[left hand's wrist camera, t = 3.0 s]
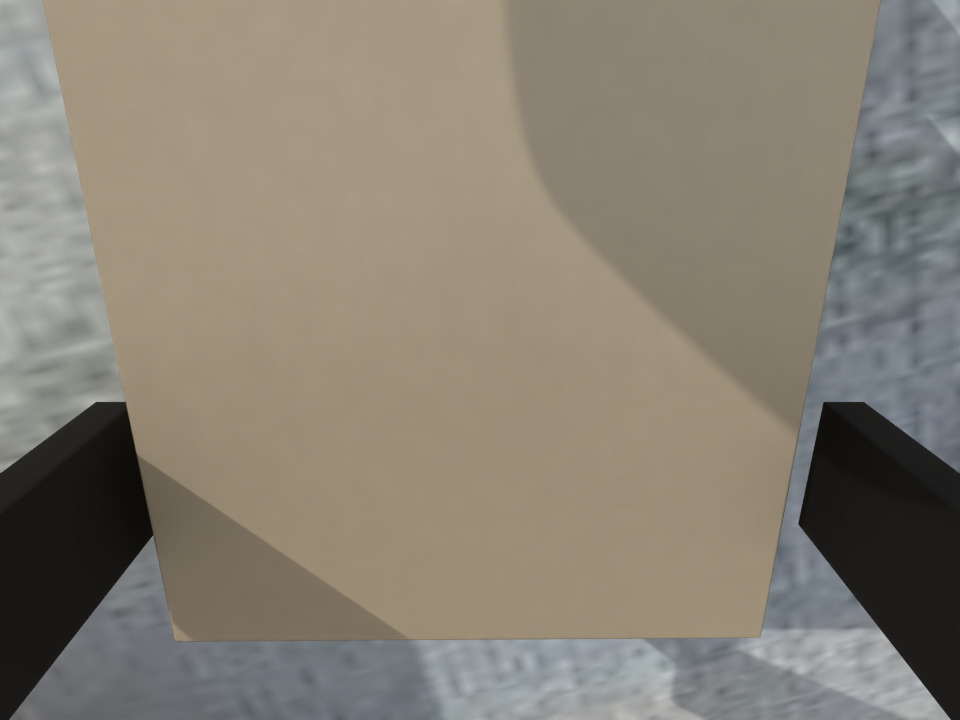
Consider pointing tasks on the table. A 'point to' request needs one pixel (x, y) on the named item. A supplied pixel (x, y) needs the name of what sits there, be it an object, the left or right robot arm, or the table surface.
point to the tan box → (464, 300)
